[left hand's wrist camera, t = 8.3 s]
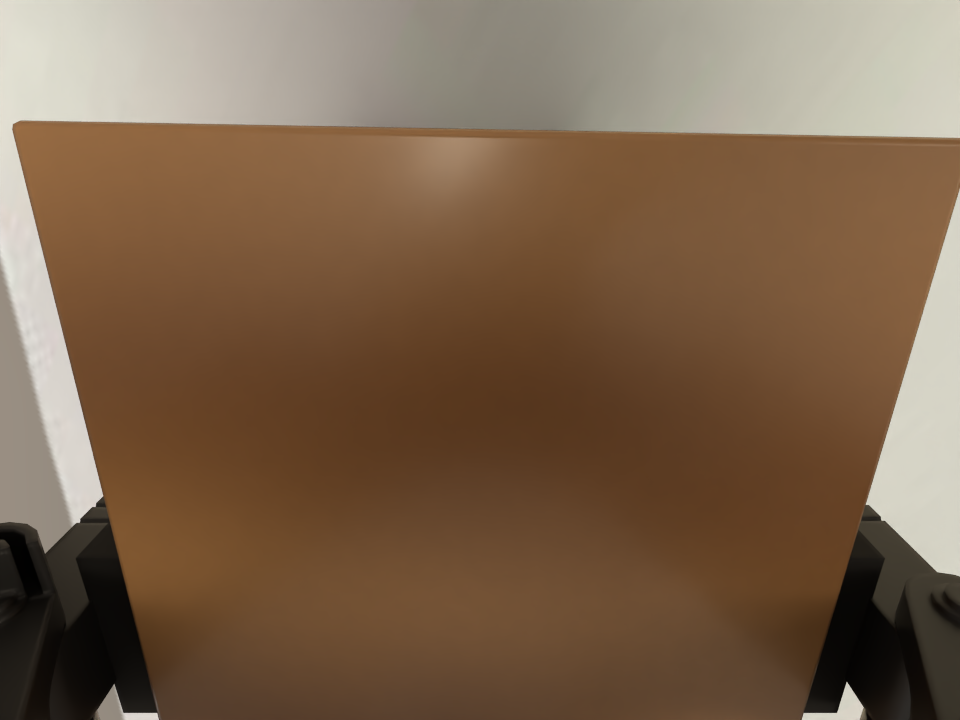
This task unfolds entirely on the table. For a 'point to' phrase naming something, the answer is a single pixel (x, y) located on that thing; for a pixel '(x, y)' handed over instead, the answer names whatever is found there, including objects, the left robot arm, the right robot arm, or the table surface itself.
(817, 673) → the left robot arm
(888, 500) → the table surface
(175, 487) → the wooden grain beam
